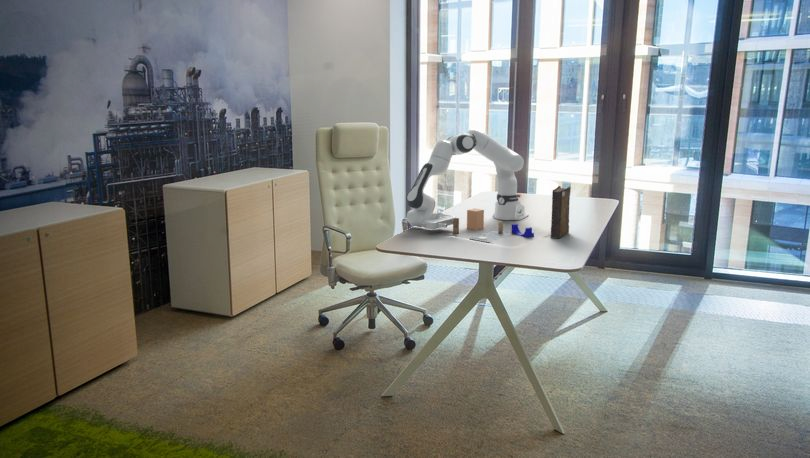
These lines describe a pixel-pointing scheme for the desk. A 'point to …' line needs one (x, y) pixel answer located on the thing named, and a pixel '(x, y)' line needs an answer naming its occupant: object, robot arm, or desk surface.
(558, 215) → the book
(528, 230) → the cable clip
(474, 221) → the block
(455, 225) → the pin
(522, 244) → the desk surface
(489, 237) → the board
